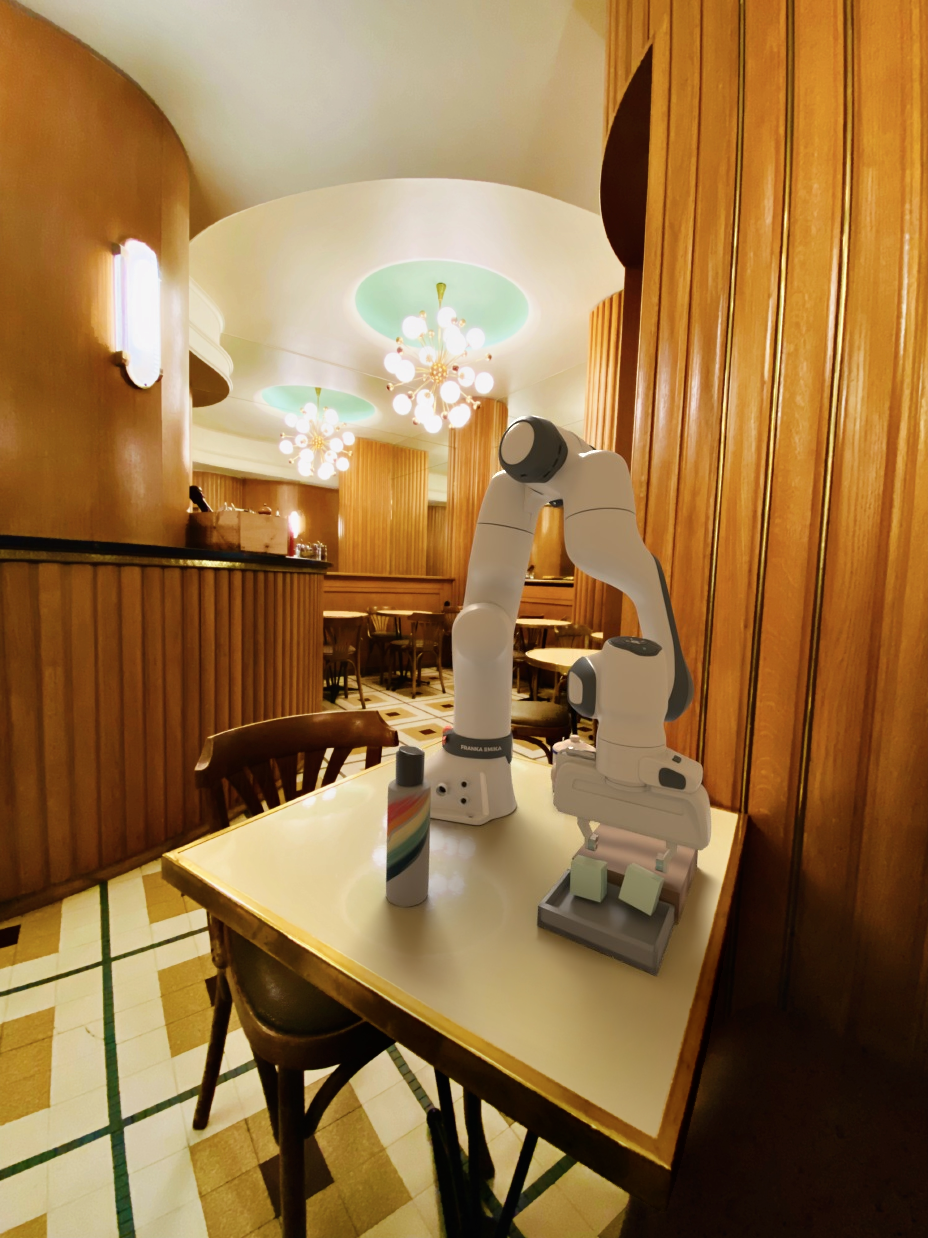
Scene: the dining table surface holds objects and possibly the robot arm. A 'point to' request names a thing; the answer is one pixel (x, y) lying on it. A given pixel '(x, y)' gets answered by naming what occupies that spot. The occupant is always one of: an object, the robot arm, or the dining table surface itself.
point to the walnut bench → (644, 862)
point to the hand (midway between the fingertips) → (625, 859)
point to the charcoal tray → (609, 924)
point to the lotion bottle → (408, 830)
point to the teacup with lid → (571, 742)
